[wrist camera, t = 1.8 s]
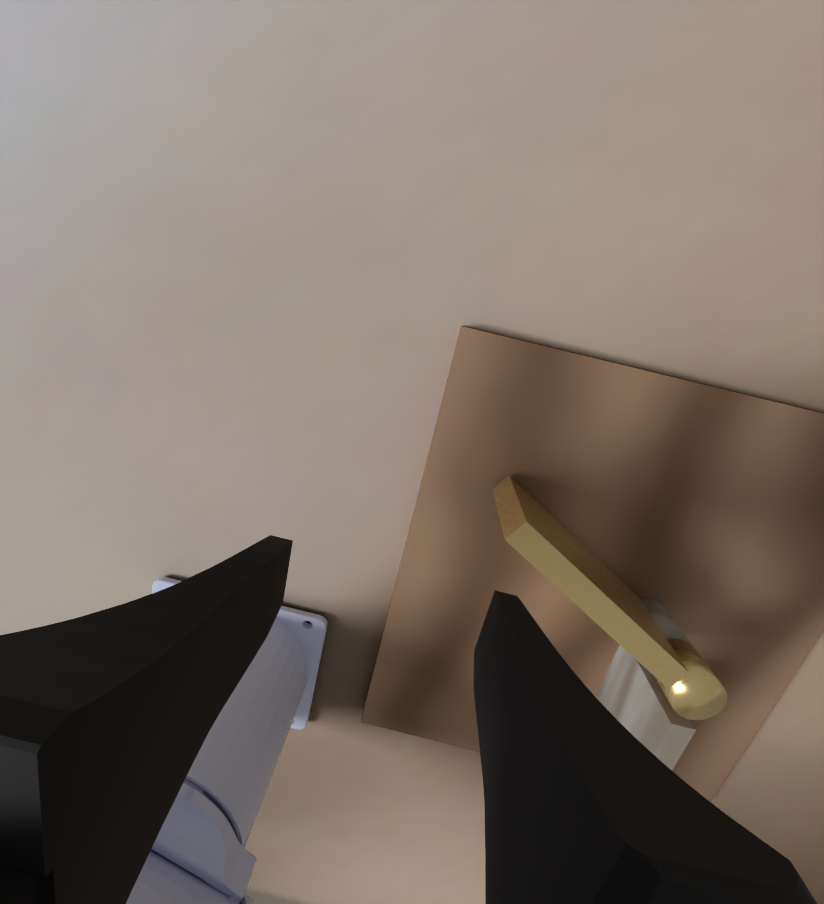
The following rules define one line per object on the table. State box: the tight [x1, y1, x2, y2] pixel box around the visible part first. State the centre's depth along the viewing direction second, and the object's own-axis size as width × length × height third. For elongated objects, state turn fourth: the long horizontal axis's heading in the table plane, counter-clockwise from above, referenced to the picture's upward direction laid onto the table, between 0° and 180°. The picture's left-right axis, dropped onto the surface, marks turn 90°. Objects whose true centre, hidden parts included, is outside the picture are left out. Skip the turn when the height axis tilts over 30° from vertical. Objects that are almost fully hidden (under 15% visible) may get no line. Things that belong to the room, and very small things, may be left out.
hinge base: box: [361, 326, 824, 802], centre depth 19 cm, size 20×22×6 cm
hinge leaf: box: [493, 475, 728, 720], centre depth 18 cm, size 2×11×4 cm, turn 47°
